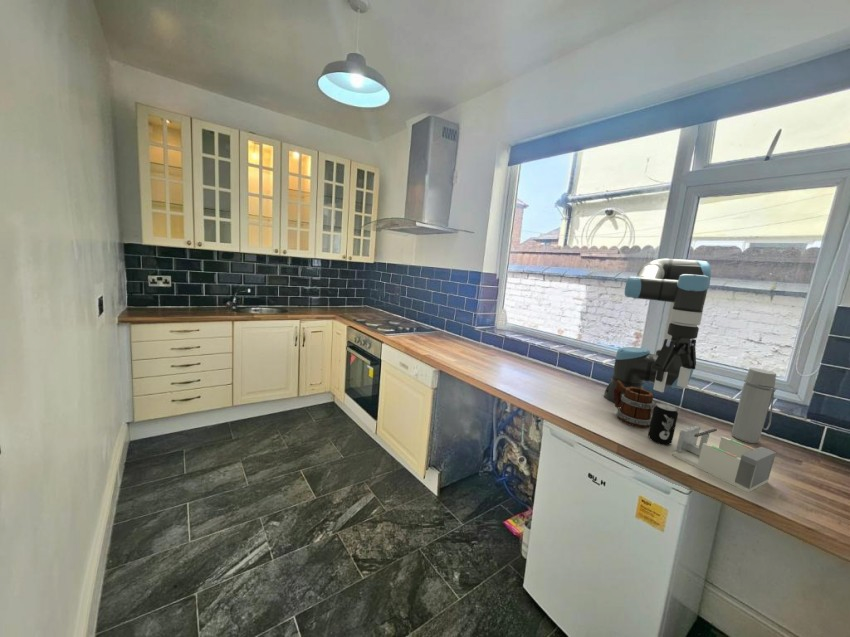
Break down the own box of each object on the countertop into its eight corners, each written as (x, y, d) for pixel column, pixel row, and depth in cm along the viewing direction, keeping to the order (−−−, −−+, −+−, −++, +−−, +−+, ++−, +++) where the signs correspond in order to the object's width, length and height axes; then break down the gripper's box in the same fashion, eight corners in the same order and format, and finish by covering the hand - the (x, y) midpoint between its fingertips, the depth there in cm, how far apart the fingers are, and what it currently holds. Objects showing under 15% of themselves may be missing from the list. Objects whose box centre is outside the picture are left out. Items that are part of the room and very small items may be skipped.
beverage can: (650, 442, 110) (657, 408, 108) (645, 433, 116) (652, 400, 114) (674, 447, 108) (682, 412, 106) (667, 438, 114) (675, 405, 112)
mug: (642, 431, 117) (642, 388, 117) (604, 420, 130) (604, 381, 130) (661, 426, 122) (662, 385, 122) (623, 416, 135) (623, 378, 135)
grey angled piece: (693, 444, 109) (699, 422, 107) (720, 456, 102) (726, 433, 101) (673, 451, 103) (678, 427, 102) (700, 464, 97) (706, 439, 96)
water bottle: (736, 441, 116) (754, 371, 112) (726, 431, 124) (742, 365, 119) (771, 448, 113) (790, 377, 109) (758, 438, 120) (776, 370, 116)
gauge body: (692, 448, 109) (699, 422, 107) (767, 482, 93) (776, 452, 92) (672, 455, 103) (678, 427, 102) (748, 492, 88) (756, 460, 86)
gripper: (691, 321, 115) (678, 381, 118) (648, 322, 103) (635, 388, 107) (718, 326, 108) (703, 389, 112) (675, 327, 97) (660, 397, 100)
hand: (670, 388), depth 109 cm, fingers open, 13 cm apart
